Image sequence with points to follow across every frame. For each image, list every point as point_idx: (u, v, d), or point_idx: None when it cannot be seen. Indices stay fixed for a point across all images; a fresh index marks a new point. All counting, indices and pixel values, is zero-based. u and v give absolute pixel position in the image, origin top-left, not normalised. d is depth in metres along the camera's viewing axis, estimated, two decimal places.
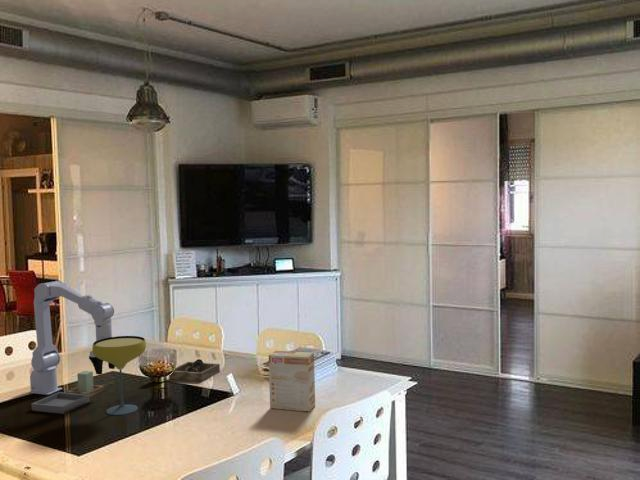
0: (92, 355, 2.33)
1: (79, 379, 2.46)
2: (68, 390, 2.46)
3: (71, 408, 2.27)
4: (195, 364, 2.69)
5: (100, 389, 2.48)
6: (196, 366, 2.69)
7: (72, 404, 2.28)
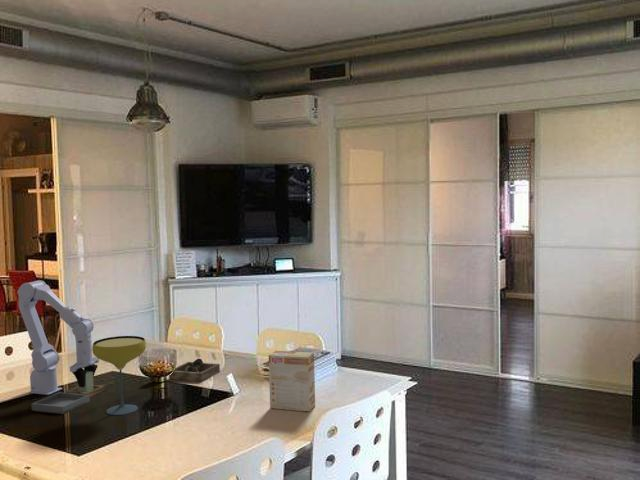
0: (72, 370, 2.40)
1: None
2: (68, 390, 2.46)
3: (71, 408, 2.27)
4: (195, 363, 2.70)
5: (100, 389, 2.48)
6: (196, 365, 2.70)
7: (72, 404, 2.28)
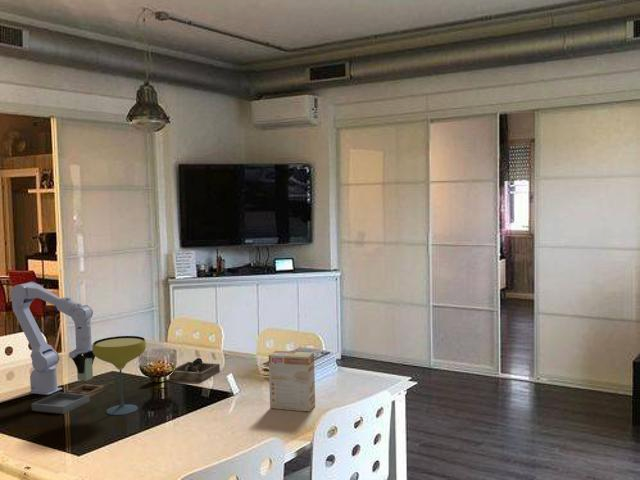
0: (71, 356, 2.40)
1: None
2: (68, 390, 2.46)
3: (71, 408, 2.27)
4: (195, 363, 2.71)
5: (100, 389, 2.48)
6: (196, 365, 2.71)
7: (72, 404, 2.28)
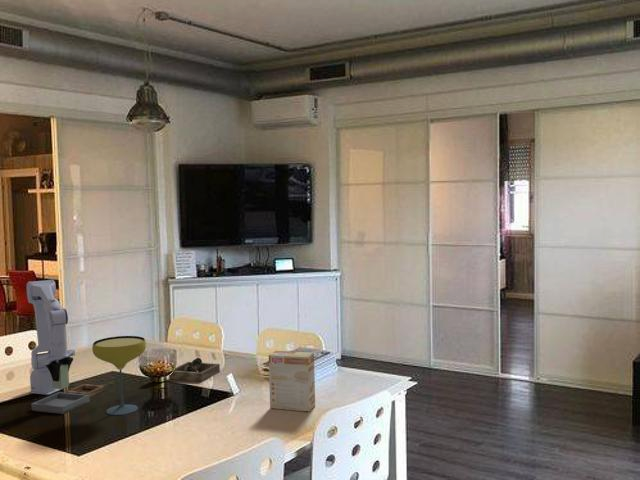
0: (45, 363, 2.24)
1: None
2: (68, 390, 2.46)
3: (71, 408, 2.27)
4: (194, 363, 2.71)
5: (100, 389, 2.48)
6: (195, 365, 2.72)
7: (72, 404, 2.28)
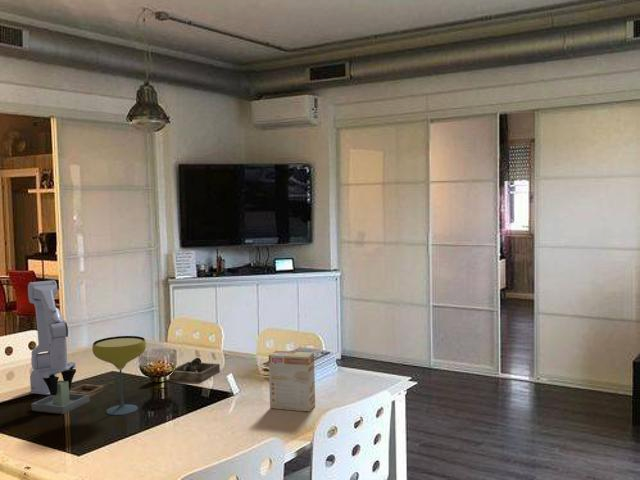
0: (45, 376, 2.24)
1: None
2: None
3: (71, 408, 2.27)
4: (193, 363, 2.71)
5: (100, 389, 2.48)
6: (194, 365, 2.72)
7: (72, 404, 2.28)
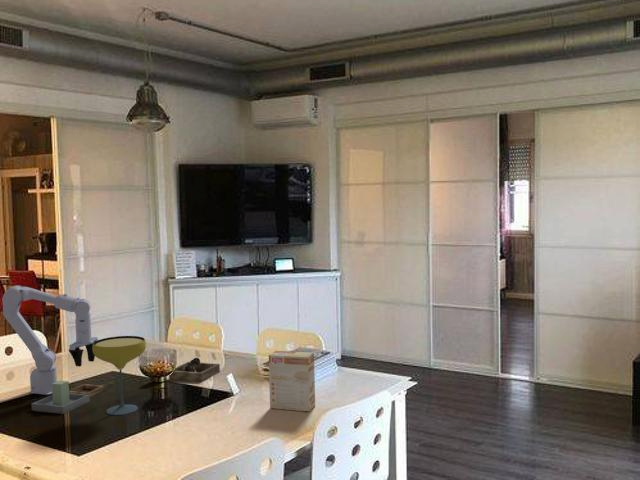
0: (71, 348, 2.46)
1: (54, 389, 2.30)
2: None
3: (71, 408, 2.27)
4: (192, 362, 2.72)
5: (100, 389, 2.48)
6: (193, 364, 2.72)
7: (72, 404, 2.28)
